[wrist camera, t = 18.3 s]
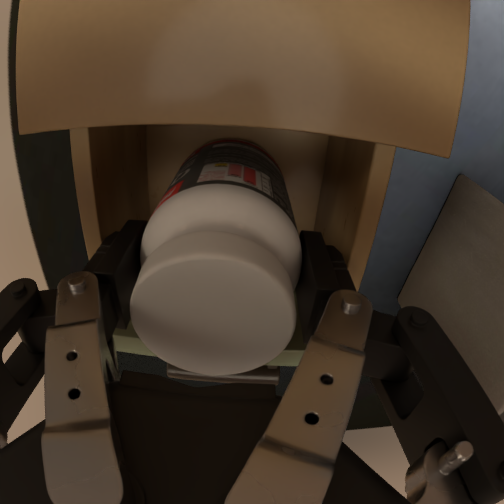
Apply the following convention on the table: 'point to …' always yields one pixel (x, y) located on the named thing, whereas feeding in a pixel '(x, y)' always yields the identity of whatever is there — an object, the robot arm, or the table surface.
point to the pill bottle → (219, 263)
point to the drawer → (296, 179)
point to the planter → (466, 282)
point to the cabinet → (247, 66)
